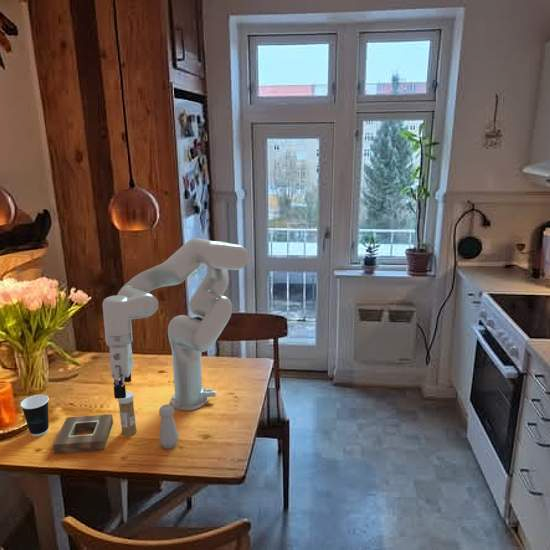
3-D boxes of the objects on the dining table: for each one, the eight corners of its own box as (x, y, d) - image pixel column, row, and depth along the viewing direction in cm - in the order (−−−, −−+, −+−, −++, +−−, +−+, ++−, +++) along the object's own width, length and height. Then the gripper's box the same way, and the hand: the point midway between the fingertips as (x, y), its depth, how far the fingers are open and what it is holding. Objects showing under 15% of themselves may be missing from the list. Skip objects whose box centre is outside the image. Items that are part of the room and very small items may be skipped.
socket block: (113, 422, 154) (112, 413, 153) (104, 450, 141) (102, 440, 140) (68, 426, 153) (66, 417, 152) (54, 454, 139) (53, 444, 138)
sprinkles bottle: (138, 433, 149) (135, 395, 145) (124, 438, 146) (120, 400, 143) (134, 426, 152) (130, 389, 149) (119, 431, 150) (115, 393, 146)
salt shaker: (170, 436, 147) (168, 399, 144) (183, 443, 144) (180, 406, 140) (155, 445, 143) (152, 407, 139) (167, 453, 139) (164, 414, 136)
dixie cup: (36, 442, 145) (31, 410, 141) (20, 435, 148) (14, 403, 145) (58, 428, 151) (54, 398, 148) (42, 422, 155) (37, 392, 152)
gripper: (127, 349, 132) (131, 403, 137) (136, 326, 149) (139, 375, 153) (99, 350, 131) (104, 405, 136) (111, 327, 148) (115, 376, 152)
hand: (123, 389), depth 145 cm, fingers open, 9 cm apart
